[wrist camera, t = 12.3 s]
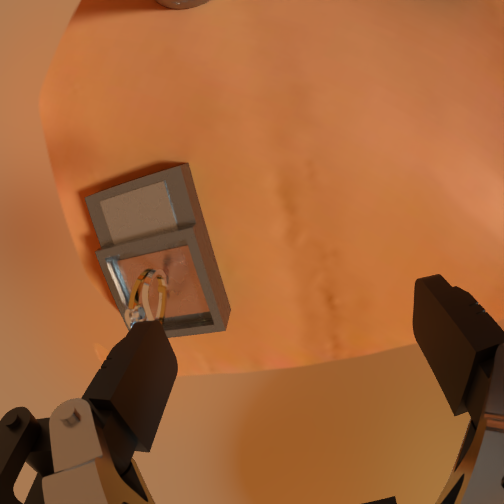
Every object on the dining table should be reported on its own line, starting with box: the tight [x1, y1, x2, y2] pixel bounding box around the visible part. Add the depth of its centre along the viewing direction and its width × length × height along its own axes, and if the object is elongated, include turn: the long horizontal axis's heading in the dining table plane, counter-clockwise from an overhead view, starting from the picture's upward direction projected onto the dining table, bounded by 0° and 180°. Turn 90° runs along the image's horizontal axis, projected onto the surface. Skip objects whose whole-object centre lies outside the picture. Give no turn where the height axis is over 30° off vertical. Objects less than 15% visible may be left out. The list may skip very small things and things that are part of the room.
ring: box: [125, 268, 168, 329], centre depth 30 cm, size 7×3×8 cm, turn 173°
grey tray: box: [85, 163, 231, 338], centre depth 34 cm, size 18×12×4 cm, turn 13°
